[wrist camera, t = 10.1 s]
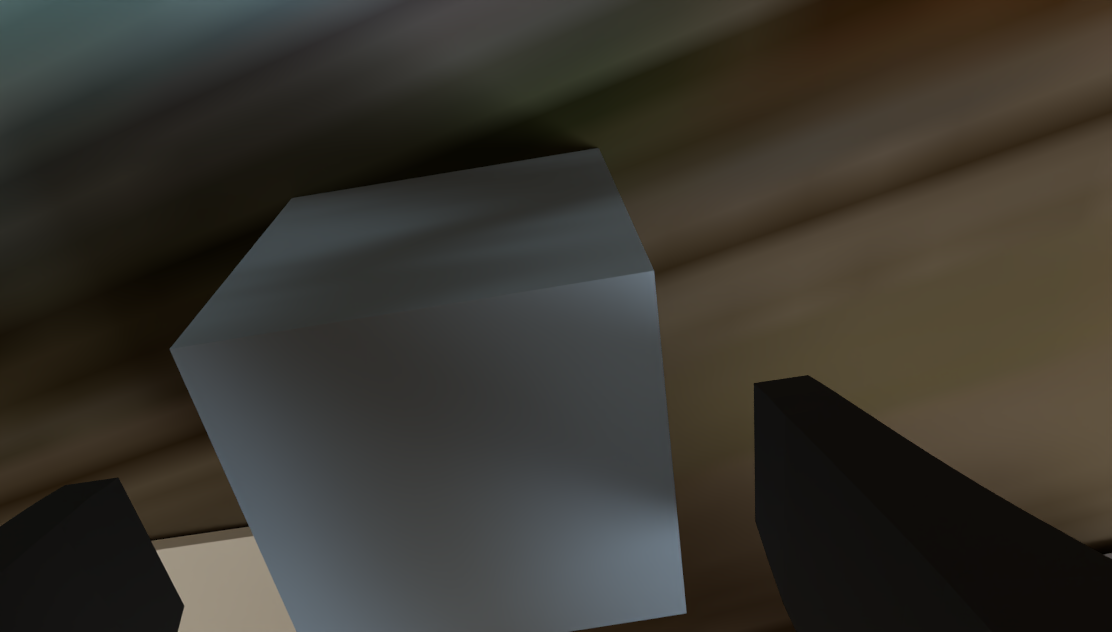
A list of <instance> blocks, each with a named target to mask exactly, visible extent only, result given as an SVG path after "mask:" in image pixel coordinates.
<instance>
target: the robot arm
mask: <svg viewBox="0 0 1112 632" xmlns="http://www.w3.org/2000/svg"><path fill="white" fill-rule="evenodd" d="M754 435H755V522H756V525H757V528H758V531H759V534H760V537H761V540H762V543H763V546H764V549H765V552H766V555H767V558H768V561H769V564H770V567H771V570H772V573H773V576H774V578H775V581H776V584H777V587H778V590H779V593H780V596H781V598H782V601H783V604H784V606H785V608H786V610H787V612H788V615H789V617H790V619H791V621H792V623H793V625H794V628H795V630H796V632H1112V553H1109V554H1101V553H1099V552H1098V551H1096V550H1094V549H1092V548H1090V547H1088V546H1086V545H1085V544H1083V543H1081V542H1079V541H1077V540H1076V539H1074V538H1072V537H1070V536H1068V535H1067V534H1065V533H1063V532H1061V531H1060V530H1058V529H1056V528H1054V527H1052V526H1051V525H1049V524H1047V523H1045V522H1043V521H1042V520H1040V519H1038V518H1036V517H1034V516H1033V515H1031V514H1029V513H1027V512H1025V511H1024V510H1022V509H1020V508H1018V507H1017V506H1015V505H1013V504H1011V503H1010V502H1008V501H1006V500H1005V499H1003V498H1001V497H1000V496H998V495H996V494H994V493H993V492H991V491H989V490H988V489H986V488H984V487H983V486H981V485H979V484H978V483H976V482H974V481H973V480H971V479H969V478H968V477H966V476H965V475H963V474H961V473H960V472H958V471H956V470H955V469H953V468H952V467H950V466H948V465H947V464H945V463H944V462H942V461H940V460H939V459H937V458H936V457H934V456H932V455H931V454H929V453H928V452H926V451H924V450H923V449H921V448H920V447H918V446H917V445H915V444H914V443H912V442H910V441H909V440H907V439H906V438H904V437H903V436H901V435H900V434H898V433H897V432H895V431H893V430H892V429H890V428H889V427H887V426H886V425H884V424H883V423H881V422H880V421H878V420H877V419H875V418H874V417H872V416H871V415H869V414H868V413H866V412H865V411H863V410H861V409H860V408H858V407H857V406H855V405H854V404H852V403H851V402H849V401H848V400H846V399H845V398H843V397H842V396H840V395H839V394H837V393H836V392H834V391H833V390H831V389H830V388H828V387H826V386H825V385H823V384H822V383H820V382H818V381H817V380H815V379H813V378H812V377H810V376H808V375H806V376H799V377H793V378H786V379H779V380H772V381H766V382H759V383H754ZM183 610H184V604H183V602H182V600H181V598H180V596H179V594H178V592H177V590H176V588H175V587H174V585H173V583H172V581H171V579H170V577H169V575H168V573H167V571H166V569H165V567H164V565H163V563H162V561H161V559H160V557H159V555H158V554H157V552H156V550H155V548H154V546H153V544H152V542H151V540H150V538H149V536H148V534H147V532H146V530H145V528H144V526H143V524H142V523H141V521H140V519H139V517H138V515H137V513H136V511H135V509H134V507H133V505H132V503H131V501H130V499H129V497H128V495H127V493H126V492H125V490H124V488H123V486H122V484H121V482H120V480H119V478H112V479H105V480H98V481H92V482H85V483H78V484H72V485H65V486H63V487H62V488H60V489H58V490H56V491H55V492H53V493H51V494H50V495H48V496H46V497H45V498H43V499H41V500H40V501H38V502H36V503H35V504H33V505H32V506H30V507H29V508H27V509H26V510H24V511H23V512H21V513H20V514H18V515H17V516H15V517H14V518H12V519H11V520H9V521H8V522H6V523H5V524H3V525H2V526H0V632H178V629H179V625H180V621H181V617H182V614H183Z"/></svg>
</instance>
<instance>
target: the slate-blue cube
mask: <svg viewBox="0 0 1112 632" xmlns="http://www.w3.org/2000/svg"><path fill="white" fill-rule="evenodd" d="M170 351H171V354H172V356H173V358H174V360H175V363H176V365H177V367H178V369H179V371H180V374H181V376H182V378H183V380H184V383H185V385H186V387H187V389H188V391H189V394H190V396H191V398H192V400H193V403H194V405H195V407H196V409H197V411H198V414H199V416H200V418H201V420H202V423H203V425H204V427H205V429H206V432H207V434H208V436H209V438H210V440H211V443H212V445H213V447H214V449H215V452H216V454H217V456H218V458H219V460H220V463H221V465H222V467H223V469H224V472H225V474H226V476H227V478H228V481H229V483H230V485H231V487H232V489H233V492H234V494H235V496H236V498H237V501H238V503H239V505H240V507H241V509H242V512H243V514H244V516H245V518H246V521H247V523H248V525H249V527H250V529H251V532H252V534H253V536H254V538H255V541H256V543H257V545H258V547H259V550H260V552H261V554H262V556H263V558H264V561H265V563H266V565H267V567H268V570H269V572H270V574H271V576H272V578H273V581H274V583H275V585H276V587H277V590H278V592H279V594H280V596H281V599H282V601H283V603H284V605H285V607H286V610H287V612H288V614H289V616H290V619H291V621H292V623H293V625H294V627H295V630H296V632H571V631H577V630H583V629H590V628H596V627H603V626H609V625H615V624H622V623H628V622H634V621H641V620H647V619H654V618H660V617H666V616H673V615H679V614H686V613H687V612H686V601H685V591H684V580H683V570H682V559H681V549H680V538H679V528H678V517H677V507H676V496H675V486H674V476H673V465H672V455H671V444H670V434H669V423H668V413H667V402H666V392H665V381H664V371H663V361H662V350H661V340H660V329H659V319H658V308H657V298H656V287H655V277H654V270H653V268H652V265H651V263H650V261H649V259H648V257H647V254H646V252H645V250H644V248H643V245H642V243H641V241H640V239H639V237H638V234H637V232H636V230H635V228H634V225H633V223H632V221H631V219H630V217H629V214H628V212H627V210H626V208H625V205H624V203H623V201H622V199H621V197H620V194H619V192H618V190H617V188H616V186H615V183H614V181H613V179H612V177H611V174H610V172H609V170H608V168H607V166H606V163H605V161H604V159H603V157H602V154H601V152H600V150H599V148H595V149H589V150H583V151H577V152H571V153H565V154H559V155H553V156H546V157H540V158H534V159H528V160H522V161H516V162H510V163H504V164H498V165H491V166H485V167H479V168H473V169H467V170H461V171H455V172H449V173H443V174H436V175H430V176H424V177H418V178H412V179H406V180H400V181H394V182H387V183H381V184H375V185H369V186H363V187H357V188H351V189H345V190H339V191H332V192H326V193H320V194H314V195H308V196H302V197H296V198H292V199H291V200H290V201H289V202H288V204H287V205H286V206H285V207H284V208H283V210H282V211H281V212H280V213H279V215H278V216H277V217H276V218H275V220H274V221H273V222H272V223H271V224H270V226H269V227H268V228H267V229H266V231H265V232H264V233H263V234H262V236H261V237H260V238H259V239H258V241H257V242H256V243H255V244H254V245H253V247H252V248H251V249H250V250H249V252H248V253H247V254H246V255H245V257H244V258H243V259H242V260H241V262H240V263H239V264H238V265H237V266H236V268H235V269H234V270H233V271H232V273H231V274H230V275H229V276H228V278H227V279H226V280H225V281H224V282H223V284H222V285H221V286H220V287H219V289H218V290H217V291H216V292H215V294H214V295H213V296H212V297H211V299H210V300H209V301H208V302H207V303H206V305H205V306H204V307H203V308H202V310H201V311H200V312H199V313H198V315H197V316H196V317H195V318H194V319H193V321H192V322H191V323H190V324H189V326H188V327H187V328H186V329H185V331H184V332H183V333H182V334H181V336H180V337H179V338H178V339H177V340H176V342H175V343H174V344H173V345H172V347H171V348H170Z"/></svg>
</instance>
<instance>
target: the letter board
mask: <svg viewBox="0 0 1112 632" xmlns="http://www.w3.org/2000/svg"><path fill="white" fill-rule="evenodd" d="M151 542H152V544H153V546H154V548H155V550H156V552H157V554H158V555H159V557H160V559H161V561H162V563H163V565H164V567H165V569H166V571H167V573H168V575H169V577H170V579H171V581H172V583H173V585H174V587H175V588H176V590H177V592H178V594H179V596H180V598H181V600H182V602H183V604H184V610H183V614H182V617H181V621H180V625H179V629H178V632H296V630H295V627H294V625H293V623H292V621H291V619H290V616H289V614H288V612H287V610H286V607H285V605H284V603H283V601H282V599H281V596H280V594H279V592H278V590H277V587H276V585H275V583H274V581H273V578H272V576H271V574H270V572H269V570H268V567H267V565H266V563H265V561H264V558H263V556H262V554H261V552H260V550H259V547H258V545H257V543H256V541H255V538H254V536H253V534H252V532H251V529H250V527H243V528H236V529H229V530H222V531H216V532H209V533H202V534H195V535H188V536H181V537H174V538H167V539H161V540H154V541H151Z"/></svg>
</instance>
